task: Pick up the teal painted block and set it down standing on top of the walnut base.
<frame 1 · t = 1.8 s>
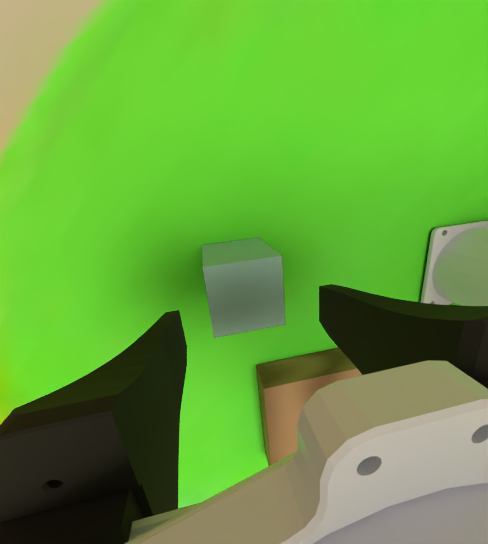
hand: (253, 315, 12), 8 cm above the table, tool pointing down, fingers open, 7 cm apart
walnut base: (315, 399, 26), on the table
teal block: (233, 267, 20), on the table
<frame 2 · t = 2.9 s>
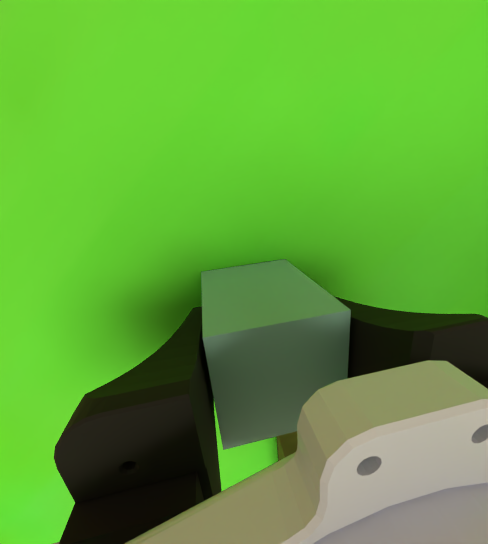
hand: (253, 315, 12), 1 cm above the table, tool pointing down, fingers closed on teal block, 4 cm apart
walnut base: (351, 465, 20), on the table
teal block: (248, 303, 13), on the table, touching gripper
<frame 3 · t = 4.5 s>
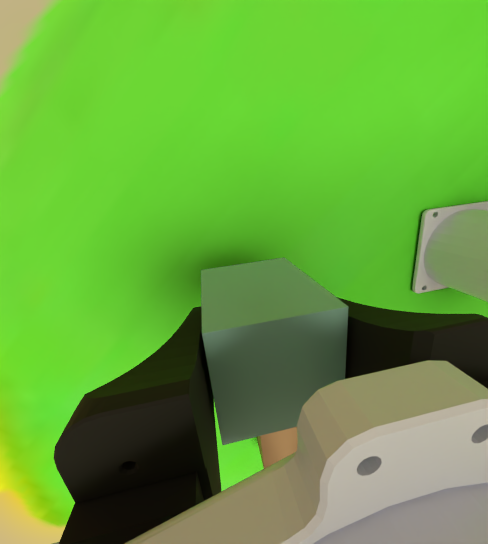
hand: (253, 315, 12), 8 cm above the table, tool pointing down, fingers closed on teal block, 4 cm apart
walnut base: (307, 386, 25), on the table
teal block: (247, 301, 13), point 7 cm above the table, touching gripper
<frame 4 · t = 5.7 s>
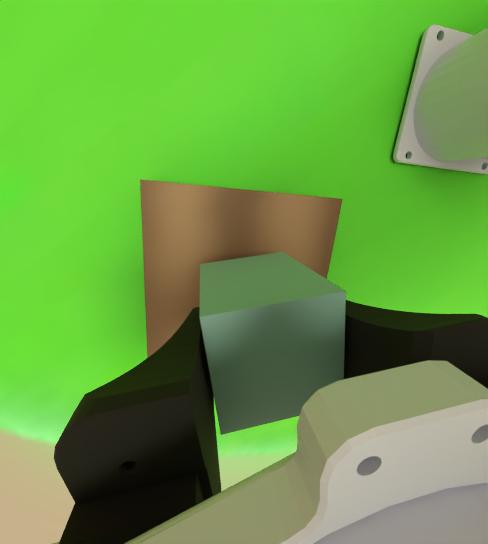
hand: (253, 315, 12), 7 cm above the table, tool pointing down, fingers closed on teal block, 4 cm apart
walnut base: (234, 271, 19), on the table
teal block: (246, 296, 13), point 5 cm above the table, touching gripper
when the fingers open (6 cm above the table, at t = 6.3 s): teal block drops 1 cm, resting on walnut base.
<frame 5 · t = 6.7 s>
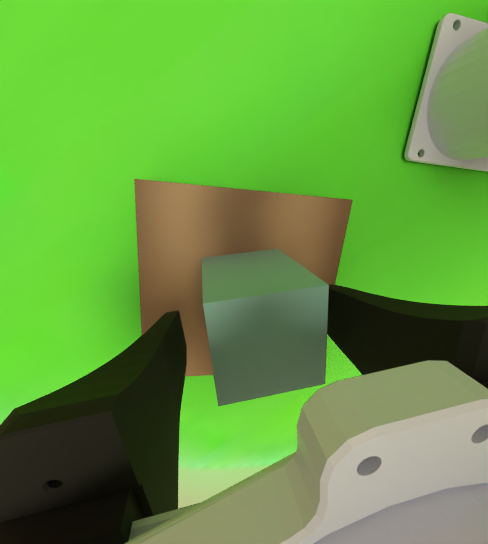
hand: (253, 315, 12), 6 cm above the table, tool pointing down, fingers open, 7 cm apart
walnut base: (236, 277, 18), on the table
teal block: (243, 288, 15), point 3 cm above the table, touching walnut base
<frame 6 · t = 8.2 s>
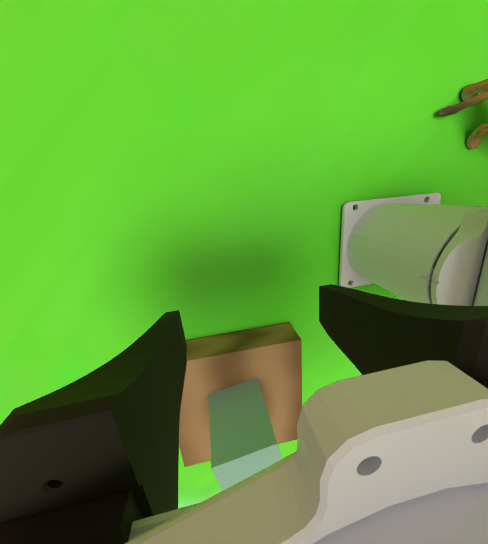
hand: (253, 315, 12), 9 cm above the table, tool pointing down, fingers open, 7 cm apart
walnut base: (235, 382, 25), on the table
teal block: (239, 404, 22), point 3 cm above the table, touching walnut base
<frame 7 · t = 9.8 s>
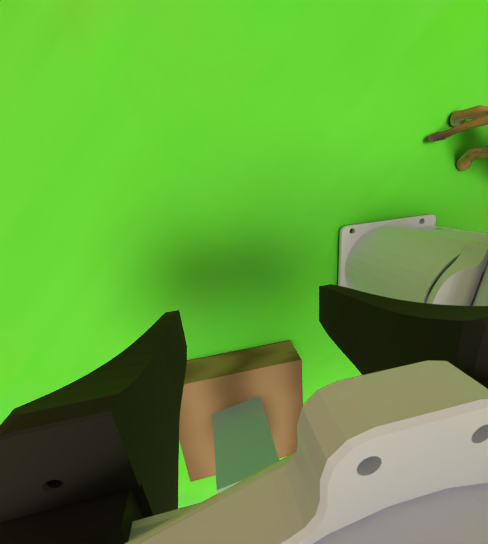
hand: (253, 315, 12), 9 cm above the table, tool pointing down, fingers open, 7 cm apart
walnut base: (238, 398, 26), on the table
teal block: (242, 421, 23), point 3 cm above the table, touching walnut base
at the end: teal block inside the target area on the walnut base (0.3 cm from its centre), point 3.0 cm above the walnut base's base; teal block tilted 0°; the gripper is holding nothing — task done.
